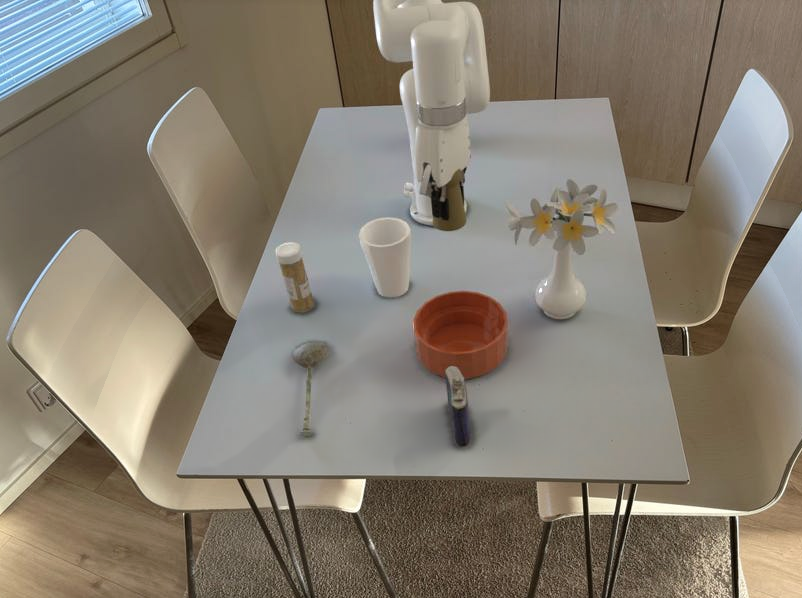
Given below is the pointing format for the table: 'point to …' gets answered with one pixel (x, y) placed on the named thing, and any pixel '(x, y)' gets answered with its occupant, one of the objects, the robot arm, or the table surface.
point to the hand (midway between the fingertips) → (448, 210)
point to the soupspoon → (309, 371)
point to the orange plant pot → (461, 333)
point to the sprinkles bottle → (295, 276)
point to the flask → (458, 405)
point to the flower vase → (564, 242)
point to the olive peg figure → (452, 206)
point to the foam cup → (387, 254)
